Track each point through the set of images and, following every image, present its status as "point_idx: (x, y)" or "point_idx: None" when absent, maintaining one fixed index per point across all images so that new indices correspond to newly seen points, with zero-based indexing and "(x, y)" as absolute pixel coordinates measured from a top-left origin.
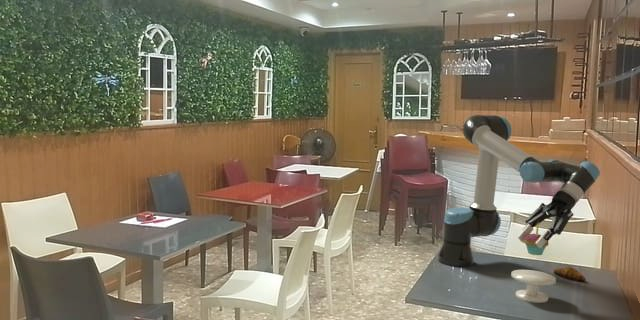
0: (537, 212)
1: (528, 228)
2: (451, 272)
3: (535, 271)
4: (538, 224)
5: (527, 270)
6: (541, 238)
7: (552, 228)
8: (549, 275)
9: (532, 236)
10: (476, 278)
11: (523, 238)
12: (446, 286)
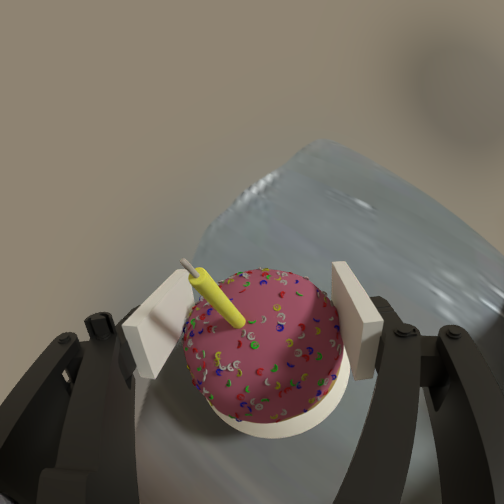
0: (479, 464)
1: (352, 319)
2: (473, 271)
3: (317, 411)
4: (189, 278)
5: (335, 388)
6: (160, 289)
7: (90, 340)
8: (261, 427)
9: (244, 289)
10: (439, 310)
11: (307, 278)
12: (383, 209)
